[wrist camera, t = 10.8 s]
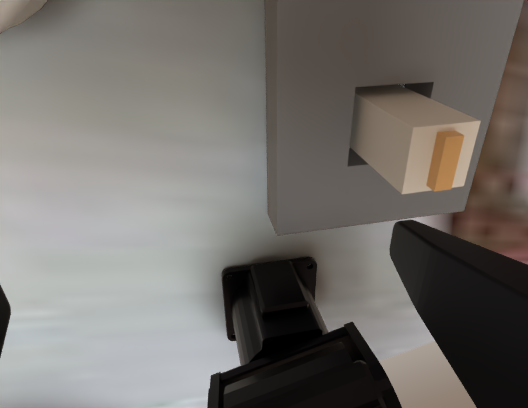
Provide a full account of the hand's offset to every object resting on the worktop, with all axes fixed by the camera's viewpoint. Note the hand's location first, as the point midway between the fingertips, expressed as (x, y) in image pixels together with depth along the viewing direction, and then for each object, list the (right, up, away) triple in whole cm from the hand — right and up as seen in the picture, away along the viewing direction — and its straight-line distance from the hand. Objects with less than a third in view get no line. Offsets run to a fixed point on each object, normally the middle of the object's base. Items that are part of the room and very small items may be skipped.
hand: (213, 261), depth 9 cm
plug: (+7, +7, +13) cm, 16 cm away
